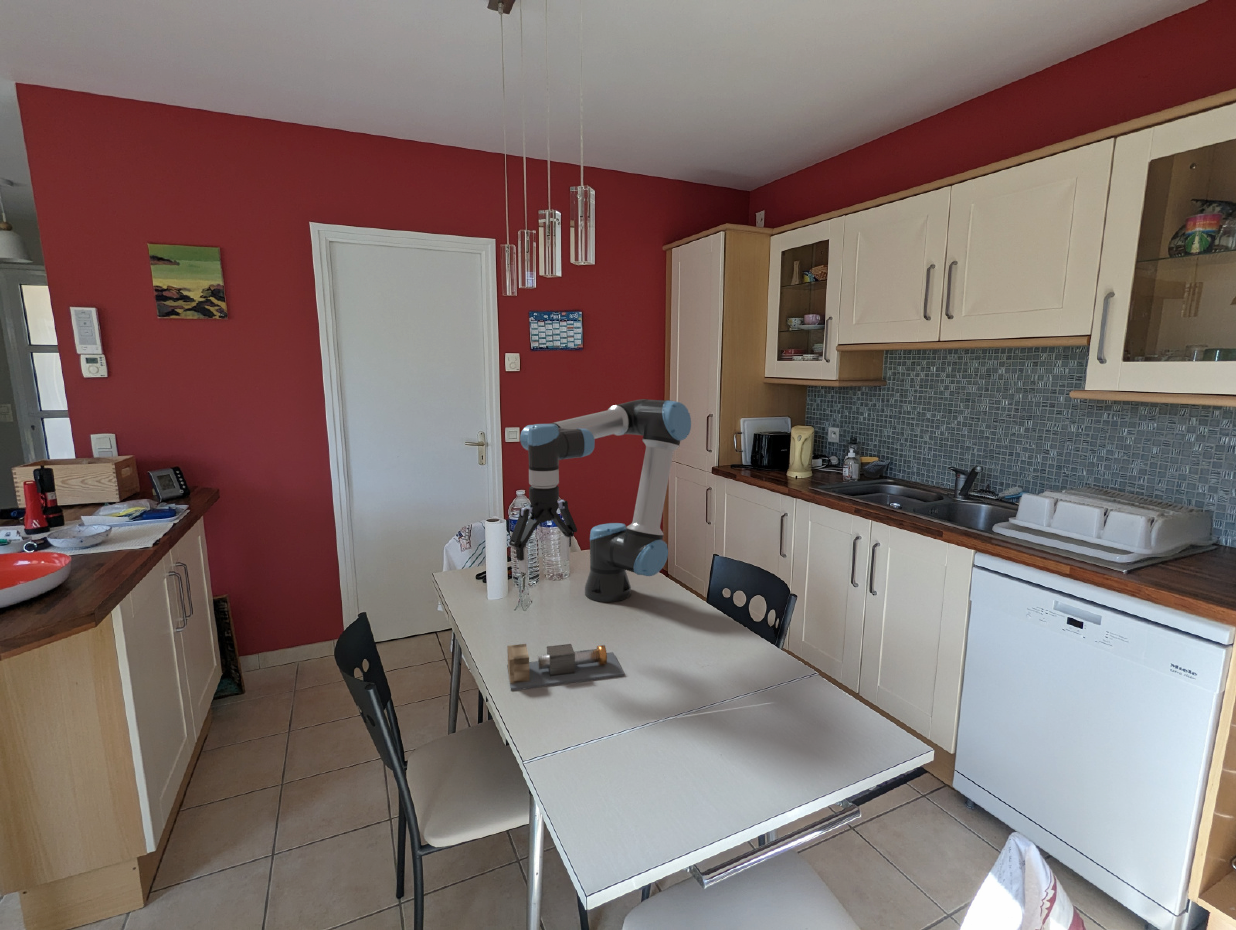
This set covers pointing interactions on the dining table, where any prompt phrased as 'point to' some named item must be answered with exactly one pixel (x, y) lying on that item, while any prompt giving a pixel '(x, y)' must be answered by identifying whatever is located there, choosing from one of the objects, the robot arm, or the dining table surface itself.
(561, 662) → the sleeve
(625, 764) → the dining table surface
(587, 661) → the sliding bolt
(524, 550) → the robot arm
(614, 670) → the base mat
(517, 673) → the socket block
